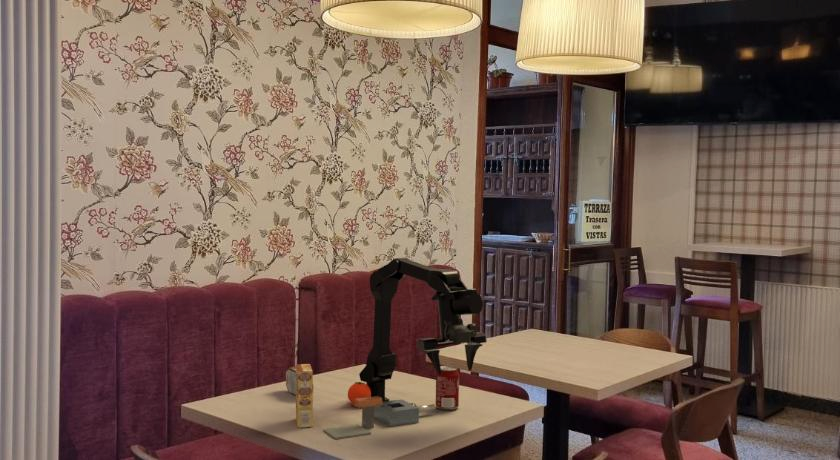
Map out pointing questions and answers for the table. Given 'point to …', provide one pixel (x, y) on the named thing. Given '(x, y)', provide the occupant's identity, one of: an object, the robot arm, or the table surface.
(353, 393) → the clementine
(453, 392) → the soda can
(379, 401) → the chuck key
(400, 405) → the block
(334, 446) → the table surface
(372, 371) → the robot arm
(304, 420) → the candy box
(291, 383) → the tin
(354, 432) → the mat
